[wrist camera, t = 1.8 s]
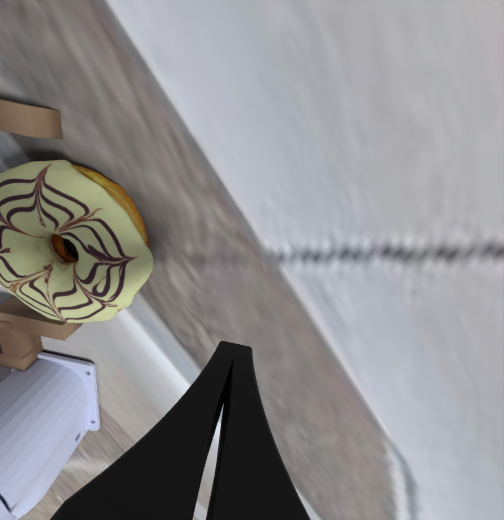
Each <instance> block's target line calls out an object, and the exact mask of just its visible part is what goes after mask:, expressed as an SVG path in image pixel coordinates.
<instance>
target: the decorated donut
mask: <svg viewBox="0 0 504 520" xmlns="http://www.w3.org/2000/svg"><path fill="white" fill-rule="evenodd" d="M63 238H65V239H68V240H70V241H71V242H72V243H74V245H75V246H76V249H77V251H78V253H79V256H78V257H79V259H76V258H74V257H73V256H71V254H70V252H69V251H68V250H67V248H66V247H65V244H64V241H63ZM152 270H153V256H152V253H151V252H150V250H149V242H148V236H147V234H146V229H145V225H144V222H143V219H142V218H141V216H140V214H139V212H138V210H137V208H136V206H135V204H134V202H133V200H132V199H131V197H130V196H128V195H127V194H126V192H125V190H124V189H123V188H122V187H121V186H119V185H118V184H116V183H114V182H111V181H110V180H108V179H107V178H105V177H104V176H102V175H100V174H99V173H97V172H94V171H92V170H90V169H86V168H84V167H81V166H77V165H72V164H71V163H70V162H68V161H66V160H53V161H34V162H29V163H25V164H22V165H19V166H17V167H14V168H10V169H8V170H6V171H4V172H1V173H0V284H1V285H2V286H3V287H4V288H5V289H6V290H8V291H9V292H10V293H11V294H13V295H14V296H16V297H17V298H19V299H20V300H21V301H22V302H23V303H25V304H26V305H27V306H29V307H30V308H32V309H34V310H35V311H37V312H39V313H41V314H42V315H44V316H46V317H48V318H50V319H54V320H61V321H64V322H68V323H86V322H94V321H106V320H108V319H111V318H112V317H114V316H115V315H116V313H117V312H119V311H120V310H122V309H123V308H125V307H128V306H129V305H130V304H131V302H132V301H133V298H134V296H135V295H136V294H137V292H138V290H139V289H140V288H141V286H142V285H143V284H144V283H145V282H146V281H147V279H148V278H149V275H150V273H151V271H152Z"/></svg>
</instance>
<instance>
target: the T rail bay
mask: <svg viewBox="0 0 504 520" xmlns="http://www.w3.org/2000/svg"><path fill="white" fill-rule="evenodd" d="M0 130H1V131H6V132H10V133H15V134H20V135H24V136H29V137H34V138H61V139H63V138H62V128H61V119H60V111H58V110H53V109H48V108H44V107H39V106H34V105H30V104H25V103H20V102H16V101H11V100H6V99H2V98H0ZM81 325H82V323H68V322H64V321H61V320H54V319H50V318H48V317H46V316H44V315H42V314H41V313H39V312H37V311H35V310H34V309H32V308H30V307H29V306H27V305H26V304H25V303H23V302H22V301H21V300H20V299H19V298H17V297H16V296H15V297H13V298H11V299H9V300H8V301H6V302H4V303H2V304H1V305H0V366H2V367H7V368H12V369H16V370H21V371H25V370H26V369H27V368H28V367H30V366H31V365H32V364H33V363H34V362H35V361H36V360H37V359H38V356H37V355H38V354H39V353H40V352H43V348H42V343H41V338H40V336H44V337H49V338H54V339H58V340H63V341H65V340H66V339H67V338H68V337H69V336H70V335H71V334H72V333H73V332H75V331H76V330H77V329H78V328H79V327H80V326H81Z"/></svg>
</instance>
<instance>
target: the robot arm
mask: <svg viewBox="0 0 504 520" xmlns="http://www.w3.org/2000/svg"><path fill="white" fill-rule="evenodd" d="M37 356H38V359H37V360H36V361H35V362H34V363H33V364H32V365H31V366H30V367H28V368H27V369H26V370H25V371H21V370H16V369H12V368H11V371H12V373H11V374H10V375H9V376H7V377H6V378H5V379H4V380H3V381H2V382H0V520H17V519H19V518H20V517H22V516H23V515H24V514H26V513H27V512H28V511H29V510H31V509H32V508H33V507H34V506H35V505H36V504H37V503H38V502H39V501H40V500H41V499H42V497H43V496H44V495H45V494H46V492H47V491H48V489H49V488H50V486H51V485H52V483H53V482H54V480H55V479H56V477H57V476H58V474H59V473H60V471H61V470H62V468H63V467H64V465H65V464H66V462H67V461H68V459H69V458H70V456H71V455H72V453H73V452H74V450H75V449H76V447H77V446H78V444H79V442H80V441H81V439H82V438H83V436H84V435H85V433H86V432H87V430H93V431H97V430H98V429H99V427H100V418H99V407H98V395H97V384H96V372H95V366H94V364H92V363H90V362H86V361H82V360H77V359H72V358H68V357H63V356H58V355H54V354H49V353H44V352H40V353H39V354H38V355H37ZM223 403H224V405H223ZM222 406H223V413H222V421H221V429H220V438H219V446H218V454H217V462H216V469H215V475H214V481H213V486H212V491H211V496H210V501H209V506H208V512H207V517H206V520H310V518H309V516H308V514H307V512H306V510H305V508H304V506H303V504H302V502H301V500H300V498H299V496H298V494H297V492H296V490H295V487H294V485H293V483H292V481H291V479H290V477H289V474H288V472H287V470H286V468H285V466H284V463H283V461H282V459H281V456H280V454H279V451H278V449H277V446H276V444H275V441H274V438H273V436H272V433H271V430H270V427H269V425H268V421H267V418H266V415H265V412H264V409H263V405H262V402H261V398H260V394H259V390H258V386H257V381H256V377H255V371H254V365H253V355H252V348H251V347H249V346H244V345H240V344H235V343H230V342H226V341H221V342H219V344H218V347H217V349H216V351H215V352H214V354H213V356H212V357H211V359H210V361H209V362H208V364H207V365H206V367H205V368H204V369H203V371H202V372H201V373H200V375H199V376H198V378H197V379H196V380H195V382H194V383H193V384H192V385H191V386H190V388H189V389H188V390H187V391H186V393H185V394H184V395H183V396H182V397H181V399H180V400H179V401H178V402H177V403H176V404H175V405H174V406H173V407H172V409H171V410H170V411H169V412H168V413H167V414H166V415H165V416H164V417H163V418H162V419H161V420H160V421H159V422H158V423H157V424H156V425H155V426H154V427H153V428H152V429H151V430H150V431H149V432H148V433H147V434H146V435H145V436H144V437H143V438H141V439H140V440H139V441H138V442H137V443H136V444H135V445H134V446H133V447H131V448H130V449H129V450H128V451H127V452H126V453H124V454H123V455H122V456H121V457H120V458H119V459H117V460H116V461H115V462H114V463H113V464H112V465H110V466H109V467H108V468H107V469H106V470H104V471H103V472H102V473H101V474H99V475H98V476H97V477H95V478H94V479H93V480H92V481H90V482H89V483H88V484H86V485H85V486H84V487H83V488H81V489H80V490H79V491H77V492H76V493H75V494H73V495H72V496H71V497H70V498H68V499H67V500H66V501H65V502H64V503H63V504H62V505H61V507H60V508H59V509H58V510H57V512H56V513H55V514H54V515H53V517H52V518H51V519H50V520H192V519H193V515H194V510H195V506H196V501H197V497H198V493H199V488H200V484H201V479H202V475H203V471H204V467H205V463H206V460H207V456H208V453H209V450H210V446H211V443H212V440H213V436H214V433H215V430H216V426H217V423H218V420H219V416H220V413H221V410H222Z"/></svg>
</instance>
